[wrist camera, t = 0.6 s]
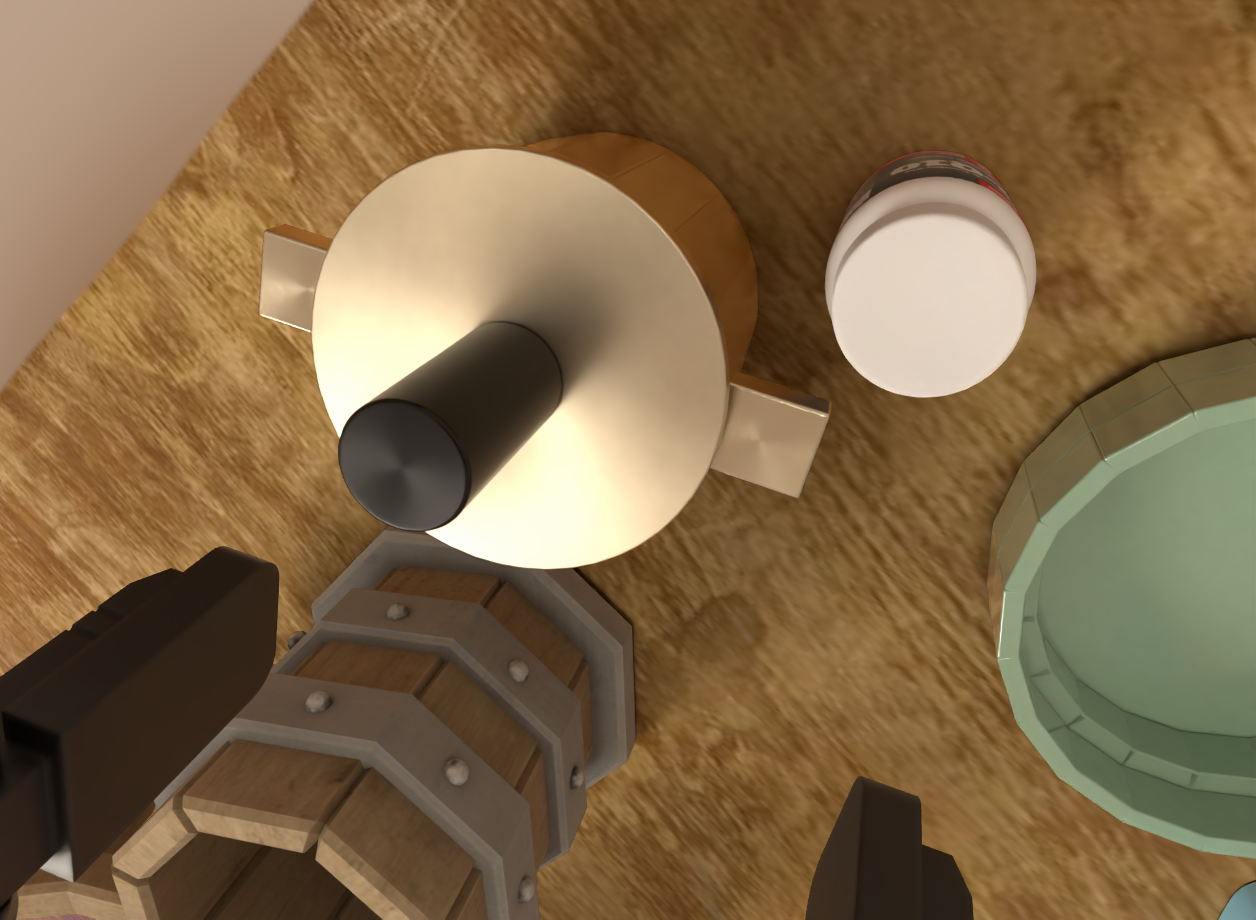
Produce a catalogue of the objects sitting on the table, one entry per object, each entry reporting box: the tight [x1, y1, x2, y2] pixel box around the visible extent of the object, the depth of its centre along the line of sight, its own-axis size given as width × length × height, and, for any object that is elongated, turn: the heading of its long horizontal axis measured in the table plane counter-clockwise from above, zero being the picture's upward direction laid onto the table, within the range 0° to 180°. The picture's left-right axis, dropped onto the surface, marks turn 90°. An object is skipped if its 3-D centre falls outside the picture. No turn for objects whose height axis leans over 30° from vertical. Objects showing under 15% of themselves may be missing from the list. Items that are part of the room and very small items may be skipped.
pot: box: [259, 132, 832, 498], centre depth 27 cm, size 10×15×8 cm, turn 76°
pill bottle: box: [825, 151, 1036, 397], centre depth 24 cm, size 5×5×8 cm
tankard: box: [16, 526, 636, 920], centre depth 32 cm, size 20×13×15 cm, turn 92°
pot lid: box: [311, 144, 730, 570], centre depth 21 cm, size 11×11×7 cm
